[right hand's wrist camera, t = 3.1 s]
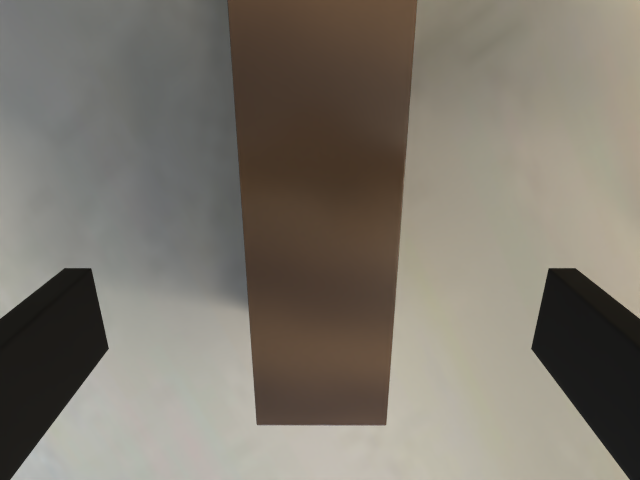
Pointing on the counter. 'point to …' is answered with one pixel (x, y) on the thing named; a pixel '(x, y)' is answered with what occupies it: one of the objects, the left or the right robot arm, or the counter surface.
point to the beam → (321, 199)
